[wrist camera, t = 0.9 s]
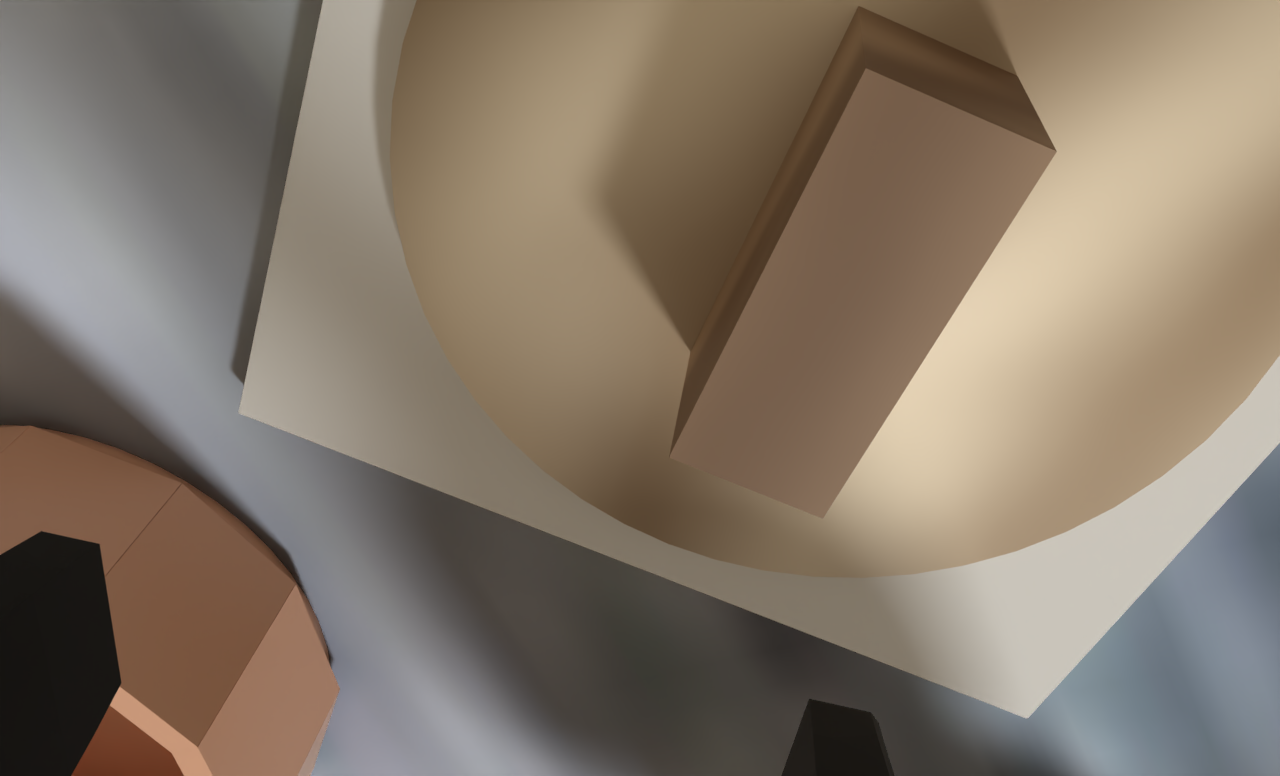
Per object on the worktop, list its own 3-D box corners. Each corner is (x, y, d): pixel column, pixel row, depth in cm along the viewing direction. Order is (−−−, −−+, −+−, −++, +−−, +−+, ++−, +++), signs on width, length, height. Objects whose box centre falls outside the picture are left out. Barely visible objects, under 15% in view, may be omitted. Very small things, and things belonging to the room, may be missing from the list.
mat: (1760, -128, 14) (1795, -122, 13) (1022, 696, 23) (1027, 718, 22) (493, -745, 12) (479, -764, 12) (251, 396, 21) (238, 413, 21)
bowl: (392, 541, 23) (297, 725, 19) (291, 843, 30) (203, 1030, 26) (-159, 330, 22) (-385, 474, 18) (-140, 689, 29) (-304, 857, 25)
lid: (1585, -50, 14) (1812, 24, 11) (1000, 645, 21) (1031, 810, 18) (565, -534, 13) (480, -611, 10) (328, 381, 20) (236, 507, 17)
